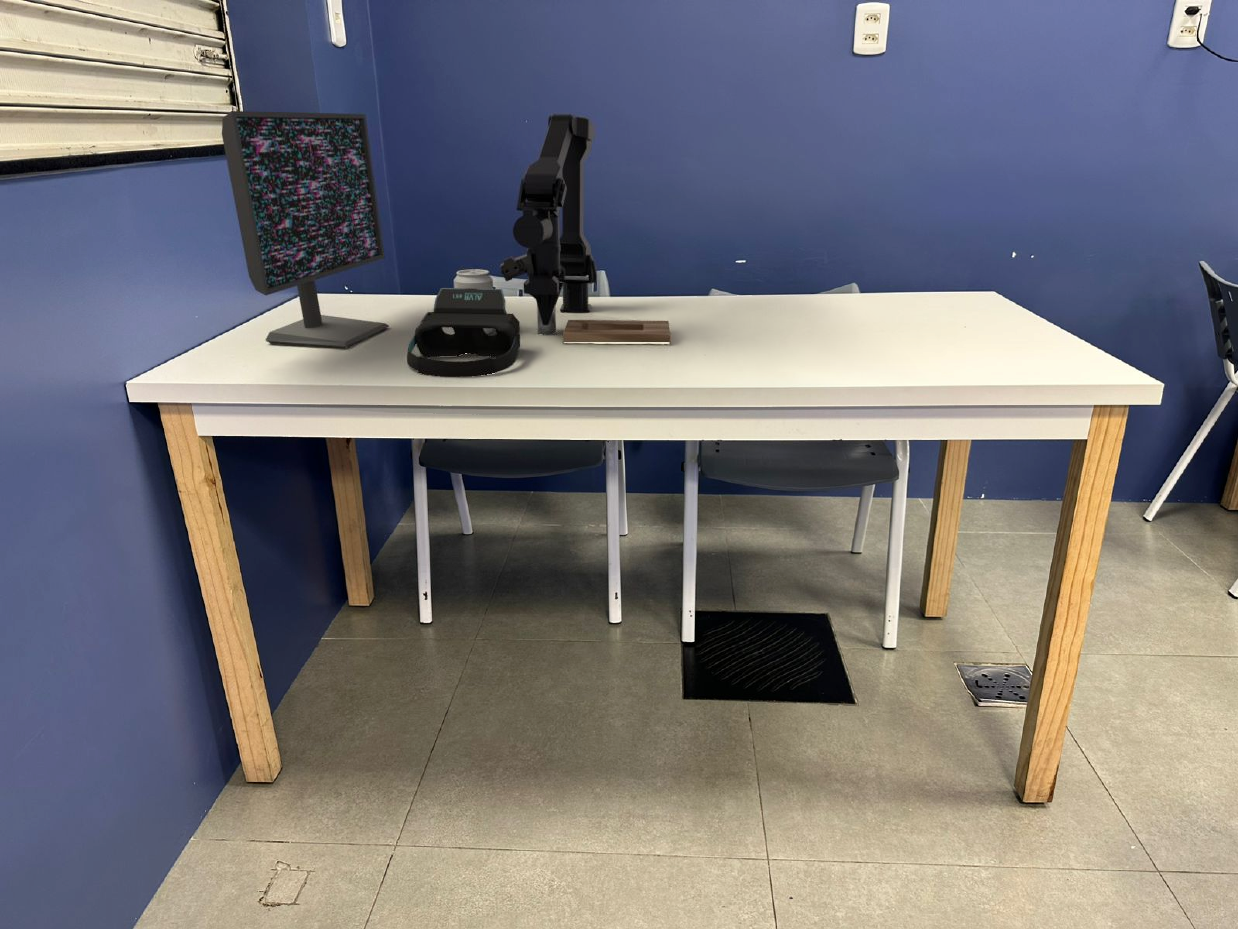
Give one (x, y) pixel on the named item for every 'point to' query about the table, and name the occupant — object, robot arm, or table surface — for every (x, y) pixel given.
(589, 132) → the robot arm
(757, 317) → the table surface
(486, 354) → the virtual reality headset
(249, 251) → the computer monitor
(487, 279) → the can
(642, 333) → the keyhole board
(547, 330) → the peg
